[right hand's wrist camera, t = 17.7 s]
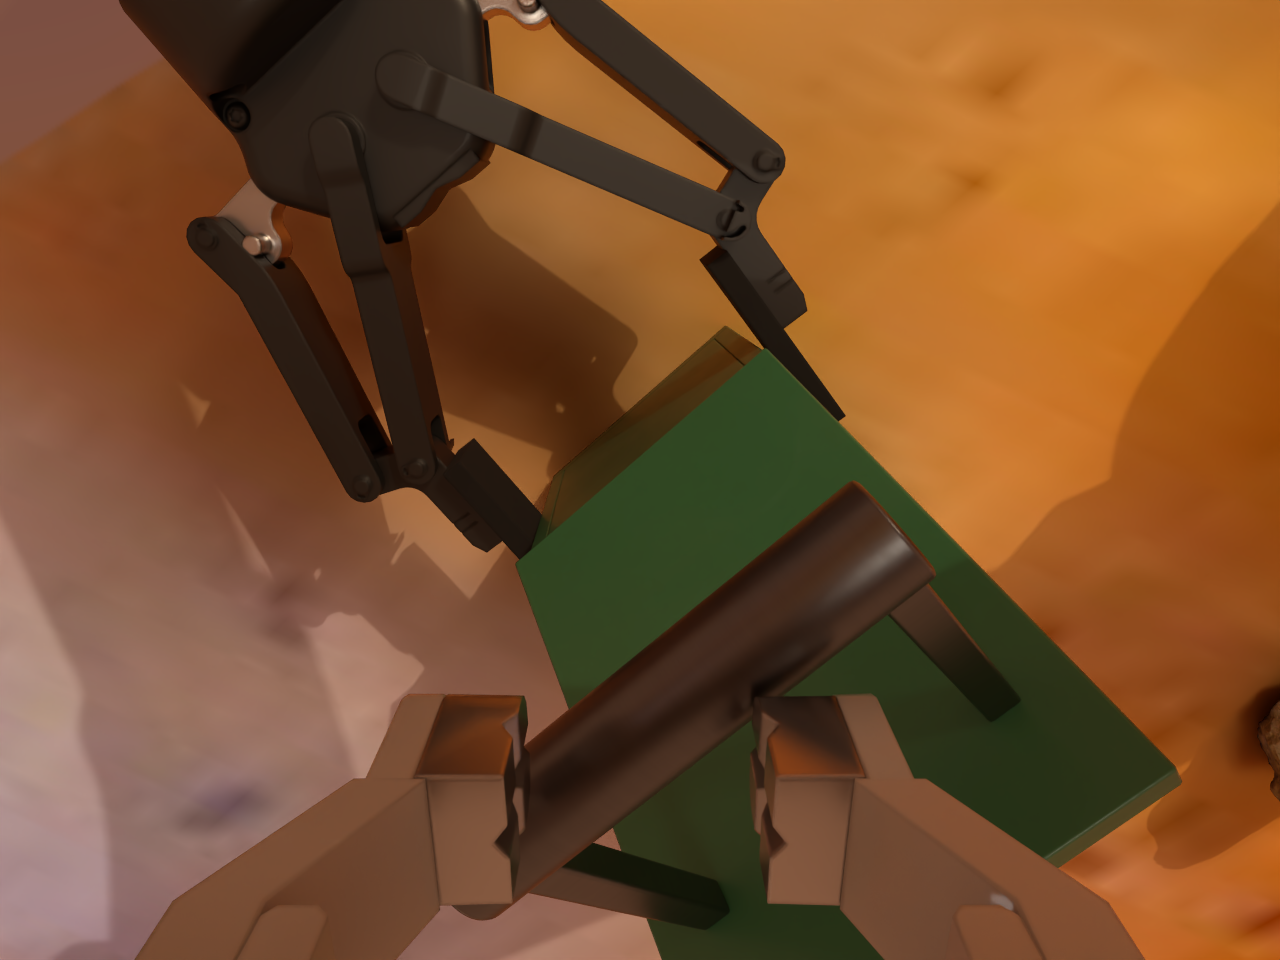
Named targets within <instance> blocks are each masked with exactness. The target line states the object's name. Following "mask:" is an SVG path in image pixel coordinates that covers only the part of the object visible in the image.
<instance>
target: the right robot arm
mask: <svg viewBox="0 0 1280 960" xmlns="http://www.w3.org/2000/svg"><path fill="white" fill-rule="evenodd" d="M527 726H528V718H527V706H526V700H525V697H524V696H512V695H465V694H448V695H445V694H408V695H407V696H405V697H404V698H403V699H402V700H401V702H400V704H399V707H398V709H397V711H396V713H395V715H394V717H393V720H392V722H391V724H390V726H389V728H388V731H387V733H386V735H385V737H384V739H383V741H382V744H381V746H380V748H379V750H378V752H377V754H376V757H375V759H374V761H373V763H372V765H371V768H370V770H369V772H368V774H367V776H366V778H365V779H353V780H351V781H350V782H348V783H347V784H345V785H344V786H342V787H341V788H339V789H338V790H336V791H335V792H333V793H332V794H330V795H329V796H327V797H326V798H325V799H323V800H322V801H320V802H319V803H317V804H316V805H314V806H313V807H311V808H310V809H308V810H307V811H305V812H304V813H302V814H301V815H299V816H298V817H296V818H295V819H293V820H292V821H290V822H289V823H288V824H286V825H285V826H283V827H282V828H280V829H279V830H277V831H276V832H274V833H273V834H271V835H270V836H268V837H267V838H265V839H264V840H262V841H261V842H259V843H258V844H256V845H255V846H253V847H252V848H251V849H249V850H248V851H246V852H245V853H243V854H242V855H240V856H239V857H237V858H236V859H234V860H233V861H231V862H230V863H228V864H227V865H225V866H224V867H222V868H221V869H219V870H218V871H216V872H215V873H214V874H212V875H211V876H209V877H208V878H206V879H205V880H203V881H202V882H200V883H199V884H197V885H196V886H194V887H193V888H191V889H190V890H188V891H187V892H185V893H184V894H182V895H181V896H180V897H178V898H177V899H175V900H174V901H172V903H171V904H170V906H169V907H168V909H167V911H166V912H165V914H164V915H163V917H162V918H161V920H160V921H159V923H158V924H157V926H156V928H155V929H154V931H153V932H152V934H151V935H150V937H149V938H148V940H147V941H146V943H145V944H144V946H143V948H142V949H141V951H140V952H139V954H138V955H137V957H136V958H135V960H396V959H397V958H398V957H399V955H400V954H401V953H402V952H403V951H404V950H405V949H406V948H407V946H408V945H409V944H410V943H411V942H412V941H413V940H414V938H415V937H416V936H417V935H418V934H419V933H420V932H421V931H422V929H423V928H424V927H425V926H426V925H427V924H428V923H429V922H430V920H431V919H432V918H433V917H434V916H435V915H436V914H437V913H438V911H439V910H440V907H439V906H441V905H475V904H509V903H512V902H513V897H514V891H515V886H516V880H517V875H518V869H519V864H520V859H521V858H520V840H519V835H520V834H522V833H523V832H524V831H525V830H526V824H527V817H528V811H529V798H530V753H529V752H528V751H527V749H526V748H525V747H524V742H525V737H526V732H527ZM752 728H753V733H754V738H755V743H756V747H755V748H754V749H753V750H752V751H751V753H750V772H749V780H750V803H751V812H752V819H753V825H754V830H755V831H756V832H757V833H758V834H759V835H760V854H759V860H760V865H761V871H762V876H763V881H764V887H765V892H766V898H767V903H768V904H804V905H839V906H840V910H841V911H842V912H843V913H844V914H845V916H846V917H847V918H848V919H849V920H850V921H851V922H852V923H853V925H854V926H855V927H856V928H857V929H858V930H859V931H860V933H861V934H862V935H863V936H864V937H865V938H866V939H867V940H868V942H869V943H870V944H871V945H872V946H873V947H874V948H875V950H876V951H877V952H878V953H879V954H880V955H881V956H882V957H883V959H884V960H1145V959H1144V957H1143V955H1142V954H1141V952H1140V951H1139V949H1138V948H1137V946H1136V945H1135V943H1134V941H1133V940H1132V938H1131V937H1130V935H1129V934H1128V932H1127V931H1126V929H1125V928H1124V926H1123V924H1122V923H1121V921H1120V920H1119V918H1118V917H1117V915H1116V914H1115V912H1114V910H1113V909H1112V907H1111V906H1110V904H1109V903H1108V902H1107V901H1105V900H1104V899H1102V898H1101V897H1100V896H1098V895H1097V894H1095V893H1094V892H1092V891H1091V890H1089V889H1088V888H1086V887H1085V886H1083V885H1082V884H1080V883H1079V882H1077V881H1076V880H1075V879H1073V878H1072V877H1070V876H1069V875H1067V874H1066V873H1064V872H1063V871H1061V870H1060V869H1058V868H1057V867H1055V866H1054V865H1052V864H1051V863H1049V862H1048V861H1047V860H1045V859H1044V858H1042V857H1041V856H1039V855H1038V854H1036V853H1035V852H1033V851H1032V850H1030V849H1029V848H1027V847H1026V846H1024V845H1023V844H1021V843H1020V842H1019V841H1017V840H1016V839H1014V838H1013V837H1011V836H1010V835H1008V834H1007V833H1005V832H1004V831H1002V830H1001V829H999V828H998V827H996V826H995V825H993V824H992V823H991V822H989V821H988V820H986V819H985V818H983V817H982V816H980V815H979V814H977V813H976V812H974V811H973V810H971V809H970V808H968V807H967V806H965V805H964V804H963V803H961V802H960V801H958V800H957V799H955V798H954V797H952V796H951V795H949V794H948V793H946V792H945V791H943V790H942V789H940V788H939V787H938V786H936V785H935V784H933V783H932V782H930V781H929V780H927V779H914V777H913V775H912V773H911V770H910V768H909V766H908V764H907V762H906V760H905V757H904V755H903V753H902V751H901V749H900V747H899V745H898V742H897V740H896V738H895V736H894V734H893V732H892V729H891V727H890V725H889V723H888V721H887V719H886V717H885V714H884V712H883V710H882V708H881V706H880V704H879V701H878V699H877V697H875V696H874V695H872V694H871V693H870V694H840V695H832V696H770V697H755V698H754V704H753V714H752Z"/></svg>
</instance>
